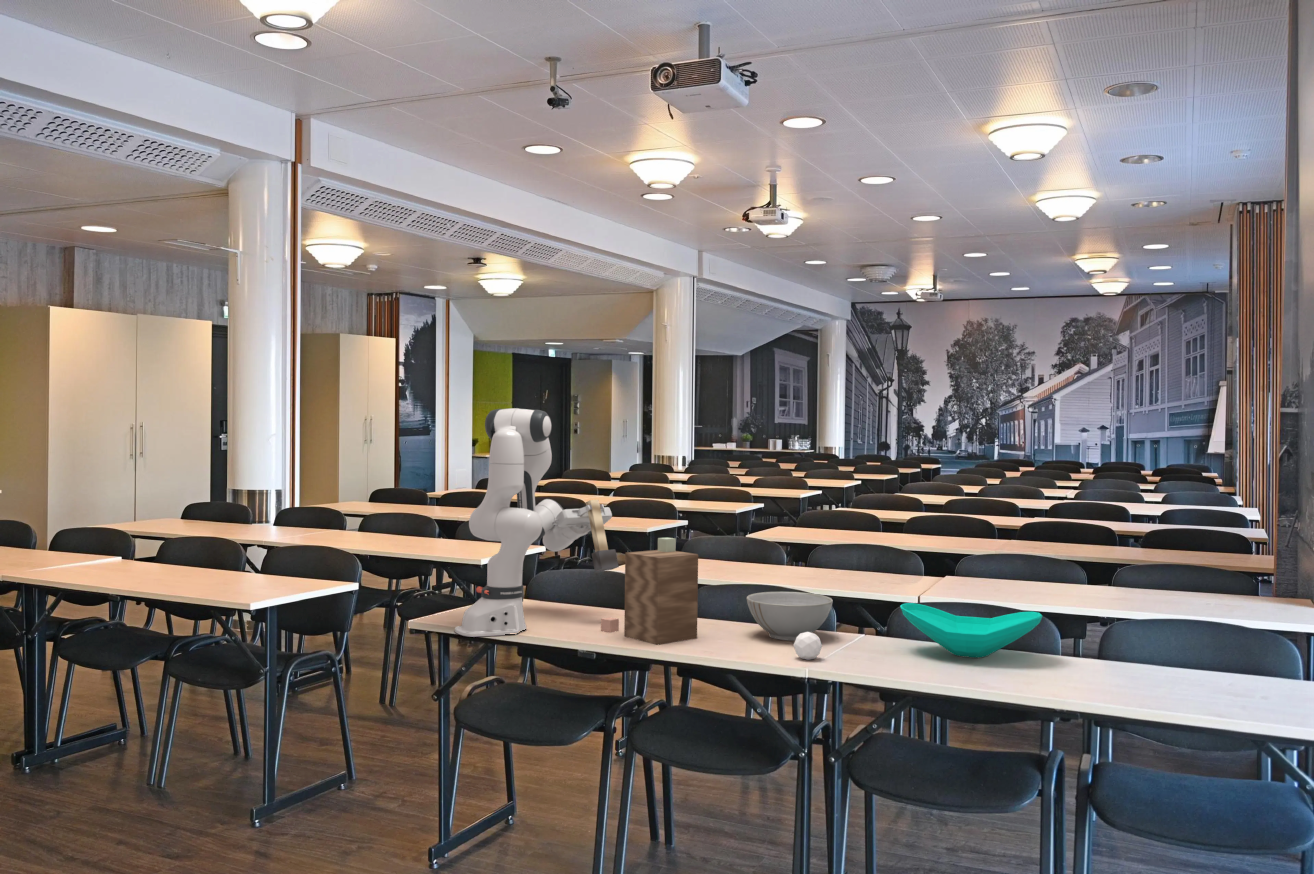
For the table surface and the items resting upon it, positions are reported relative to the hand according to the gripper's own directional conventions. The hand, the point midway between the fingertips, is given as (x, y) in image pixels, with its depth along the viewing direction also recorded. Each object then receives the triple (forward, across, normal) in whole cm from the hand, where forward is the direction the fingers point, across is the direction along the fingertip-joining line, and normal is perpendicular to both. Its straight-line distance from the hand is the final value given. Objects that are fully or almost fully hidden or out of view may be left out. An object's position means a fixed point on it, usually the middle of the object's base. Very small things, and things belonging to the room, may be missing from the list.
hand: (596, 506), depth 350 cm
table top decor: (+74, +55, +87) cm, 127 cm away
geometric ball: (+52, +13, +74) cm, 92 cm away
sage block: (+20, +6, +26) cm, 33 cm away
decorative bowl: (+30, +33, +62) cm, 76 cm away
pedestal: (+10, 0, +50) cm, 51 cm away
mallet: (-5, 0, +9) cm, 10 cm away
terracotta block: (-6, -7, +39) cm, 40 cm away
